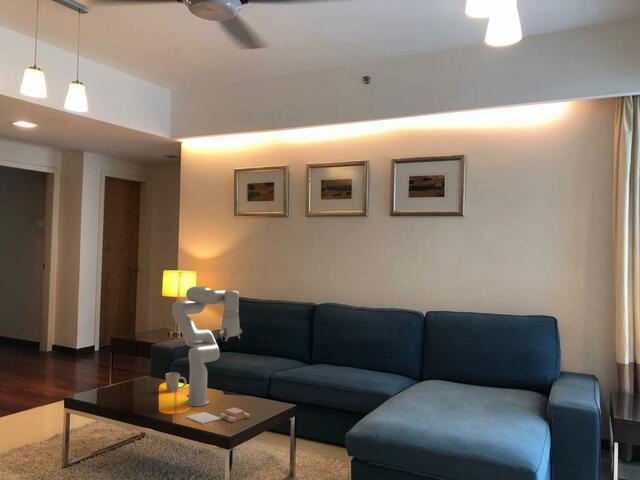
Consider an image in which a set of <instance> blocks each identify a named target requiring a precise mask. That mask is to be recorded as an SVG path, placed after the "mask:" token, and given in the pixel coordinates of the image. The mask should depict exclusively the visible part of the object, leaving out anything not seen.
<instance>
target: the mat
mask: <svg viewBox="0 0 640 480" xmlns="http://www.w3.org/2000/svg"><path fill="white" fill-rule="evenodd" d="M185 418H186V419H188V420H191V421H194V422H196V423H199V424H201V425H204V424H205V425H206V424H209V423H213V422H217V421H221V420H222V418H219V416H217V415H214V414H211V413H208V412H207V411H206V412H205V411H203V412H199V413H194V414H191V415H187V416H185Z"/></svg>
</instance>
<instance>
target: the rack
mask: <svg viewBox="0 0 640 480" xmlns="http://www.w3.org/2000/svg"><path fill="white" fill-rule="evenodd" d="M218 417H219V418H221V420H222V419H223V420H225V421H228V422H231V423H232V424H233V423H236V418H235V417H232V416H229V415H226V414H225V412H224V413H223V412H221V413H219V416H218ZM250 418H251V414H250V413H247V412H245V413H244V419H247V420H248V419H250Z"/></svg>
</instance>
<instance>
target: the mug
mask: <svg viewBox="0 0 640 480" xmlns="http://www.w3.org/2000/svg"><path fill="white" fill-rule="evenodd" d="M164 377H165V384H166V385H165V386H166V387H165V388H166V392H168V393H176V392H177V391H178V389H183V388H185V387H186V386H187V379H186V377H184V376H181V373H180V372H176V371H175V372H167V373H165V376H164ZM180 380H182V381H183V382H184V383H183V385H182V386H179V383H180ZM175 391H176V392H175Z"/></svg>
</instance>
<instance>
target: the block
mask: <svg viewBox="0 0 640 480" xmlns="http://www.w3.org/2000/svg"><path fill="white" fill-rule="evenodd" d="M245 411H246V410H243V409H240V408H237V407H231V408H228V409H227V408H226V409H225V410H224V414H226V415H229V416H232V417H235V418H236V421H239V420H243V419H245V418H244V413H246V412H245Z"/></svg>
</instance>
